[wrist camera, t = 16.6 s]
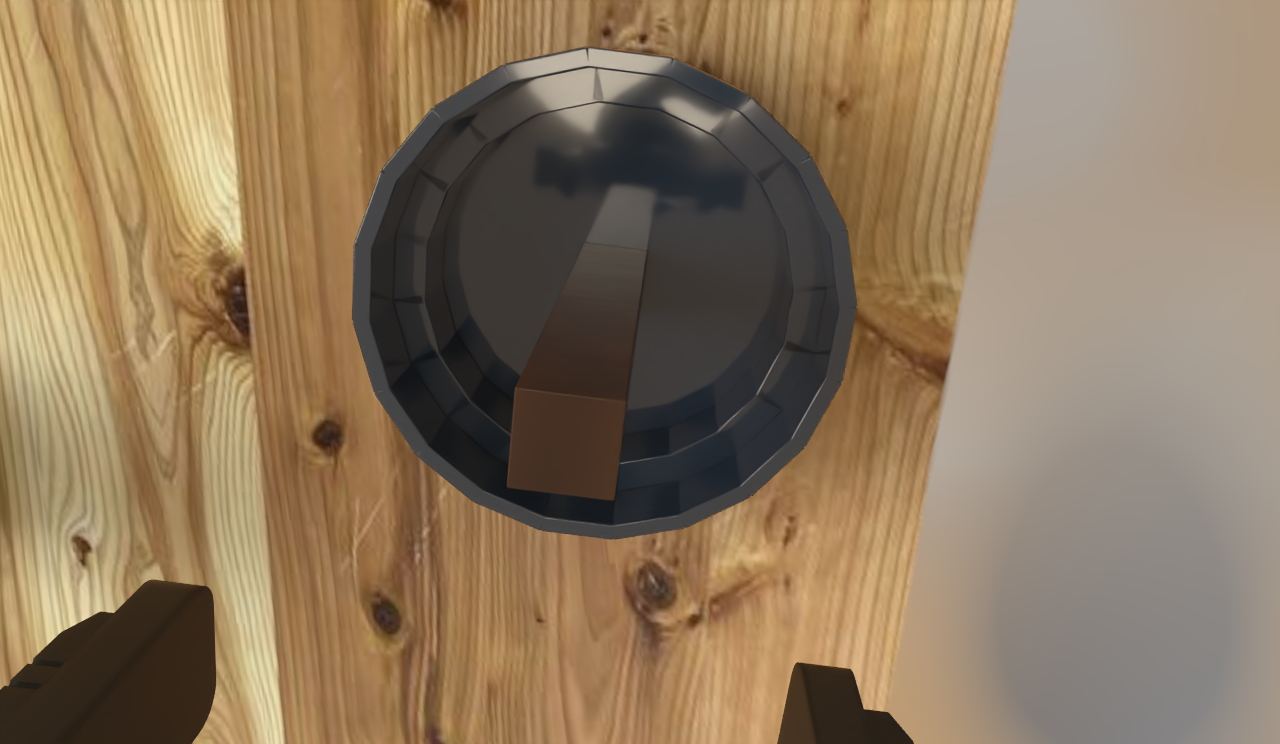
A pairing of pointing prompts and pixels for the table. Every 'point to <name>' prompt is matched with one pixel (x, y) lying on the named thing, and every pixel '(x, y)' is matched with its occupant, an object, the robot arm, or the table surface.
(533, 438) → the brown rectangular peg
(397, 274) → the bowl
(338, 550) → the table surface
